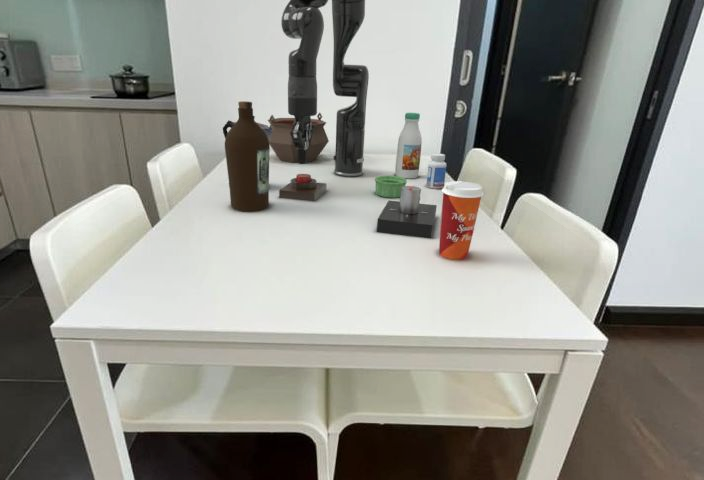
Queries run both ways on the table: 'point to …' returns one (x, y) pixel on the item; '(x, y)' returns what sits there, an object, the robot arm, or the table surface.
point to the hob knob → (410, 199)
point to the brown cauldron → (284, 143)
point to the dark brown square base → (303, 190)
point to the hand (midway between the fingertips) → (302, 162)
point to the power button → (303, 178)
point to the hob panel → (407, 220)
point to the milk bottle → (409, 148)
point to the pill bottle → (436, 171)
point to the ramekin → (389, 186)
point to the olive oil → (247, 162)
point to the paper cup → (458, 218)
